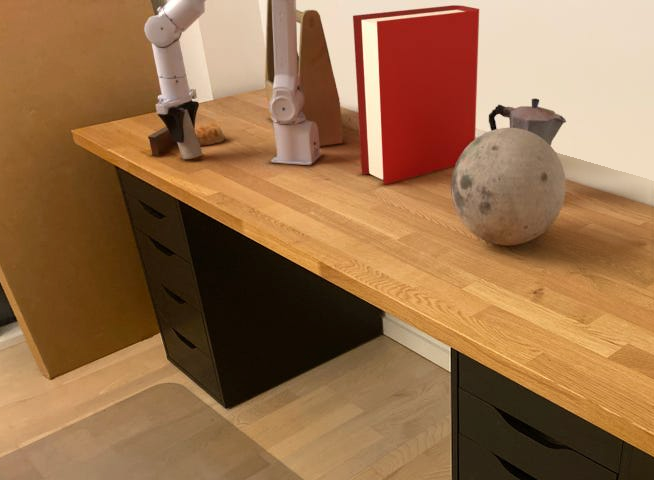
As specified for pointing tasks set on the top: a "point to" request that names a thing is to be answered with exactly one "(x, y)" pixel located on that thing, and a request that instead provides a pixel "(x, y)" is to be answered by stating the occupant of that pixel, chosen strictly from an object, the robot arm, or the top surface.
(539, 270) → the top surface
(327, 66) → the caddy
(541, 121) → the moka pot
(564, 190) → the moon model
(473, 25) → the book
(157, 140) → the wall shelf
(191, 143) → the planter
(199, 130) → the pastry
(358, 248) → the top surface
